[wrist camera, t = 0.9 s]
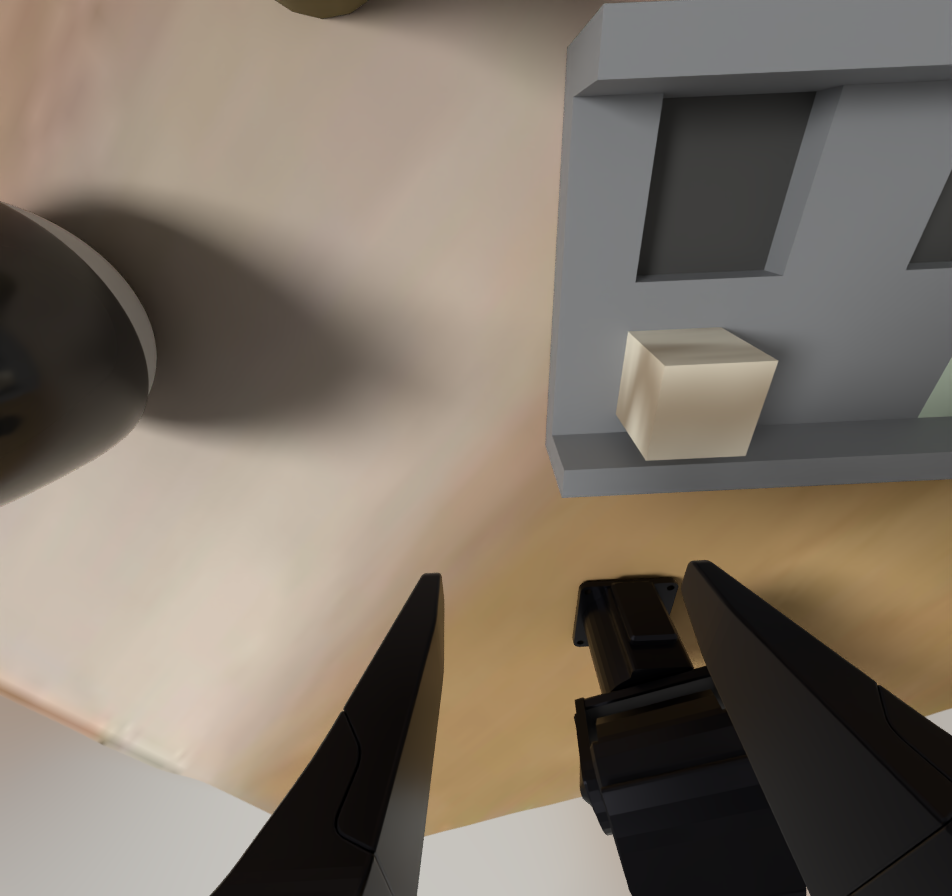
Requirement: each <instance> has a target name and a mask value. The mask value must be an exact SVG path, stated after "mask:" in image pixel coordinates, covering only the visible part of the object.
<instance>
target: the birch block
mask: <svg viewBox="0 0 952 896" xmlns="http://www.w3.org/2000/svg"><path fill="white" fill-rule="evenodd" d="M777 364H778V360H776V359H775V358H773V357H771V356H770V355H768V354H766V353H764V352H763V351H761V350H759V349H758V348H756V347H754V346H752V345H751V344H749V343H747V342H746V341H744V340H742V339H740V338H739V337H737V336H735V335H734V334H732V333H730V332H728V331H727V330H725V329H723V328H722V327H714V328H692V329H671V330H649V331H628V336H627V342H626V349H625V356H624V362H623V369H622V376H621V382H620V389H619V396H618V403H617V409H616V415H617V417H618V419H619V420H620V422H621V423H622V425H623V426H624V428H625V429H626V431H627V432H628V434H629V435H630V437H631V439H632V440H633V442H634V443H635V445H636V446H637V448H638V449H639V451H640V452H641V454H642V456H643V457H644V459H645V460H646V461H651V460H672V459H692V458H713V457H734V456H746V453H747V450H748V447H749V444H750V442H751V439H752V436H753V433H754V430H755V427H756V424H757V421H758V419H759V416H760V413H761V410H762V407H763V404H764V401H765V398H766V396H767V393H768V390H769V387H770V384H771V381H772V378H773V375H774V372H775V370H776V367H777Z"/></svg>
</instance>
